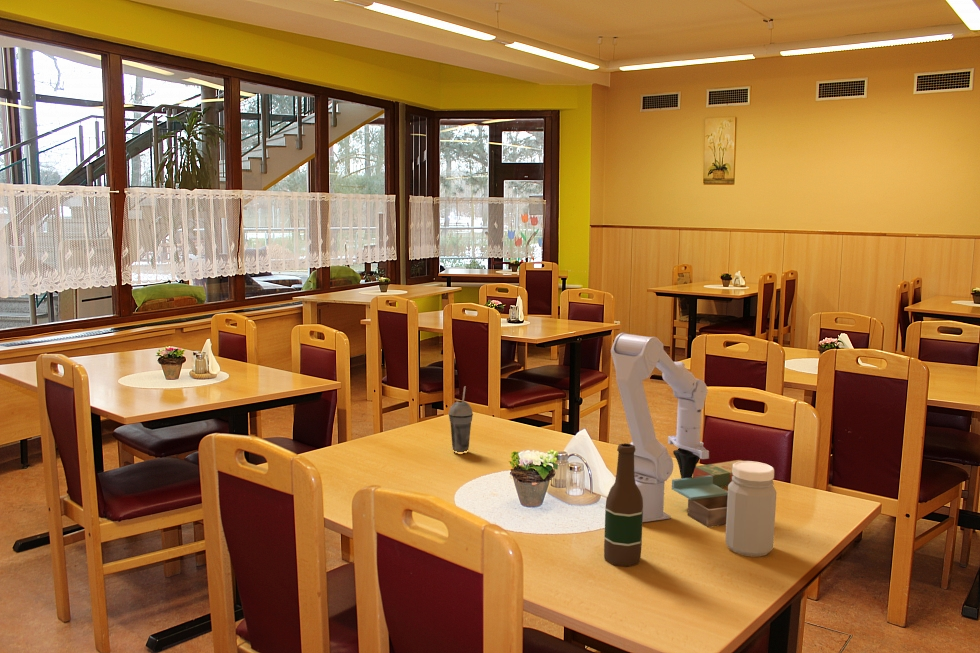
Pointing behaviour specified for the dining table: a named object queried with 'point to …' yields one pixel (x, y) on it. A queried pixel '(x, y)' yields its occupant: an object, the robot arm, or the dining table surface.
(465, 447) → the beverage cup
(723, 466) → the carton
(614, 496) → the beer bottle
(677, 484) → the lid
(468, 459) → the dining table surface
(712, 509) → the box
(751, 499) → the jar
